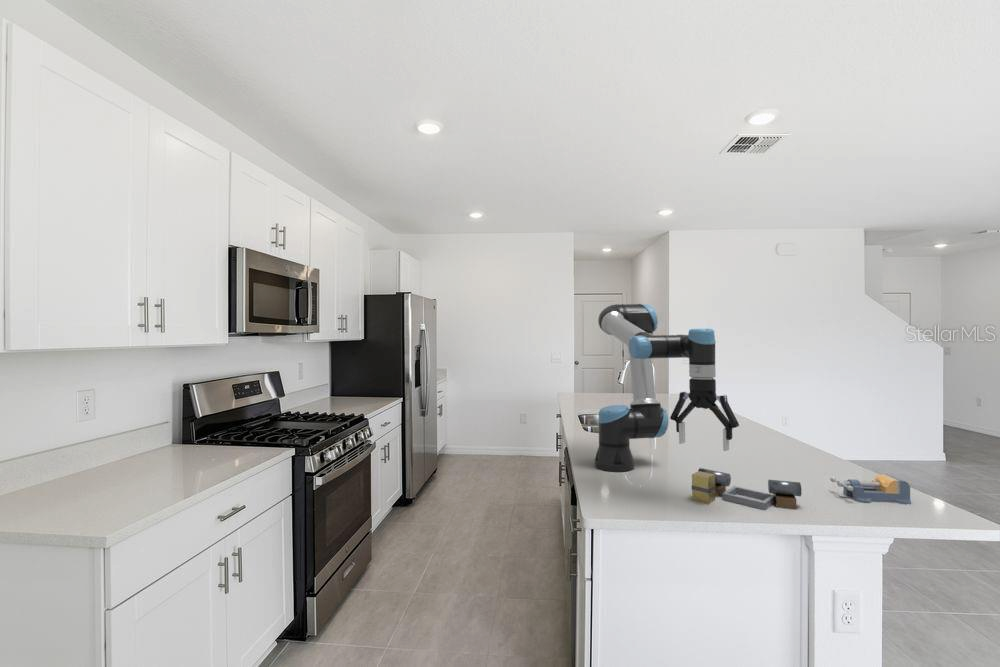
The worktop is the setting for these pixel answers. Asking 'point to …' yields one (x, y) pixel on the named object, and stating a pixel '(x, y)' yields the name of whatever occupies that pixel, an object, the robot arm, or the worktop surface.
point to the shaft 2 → (784, 493)
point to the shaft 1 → (719, 480)
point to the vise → (877, 489)
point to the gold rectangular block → (703, 487)
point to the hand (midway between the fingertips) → (703, 446)
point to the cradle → (767, 498)
